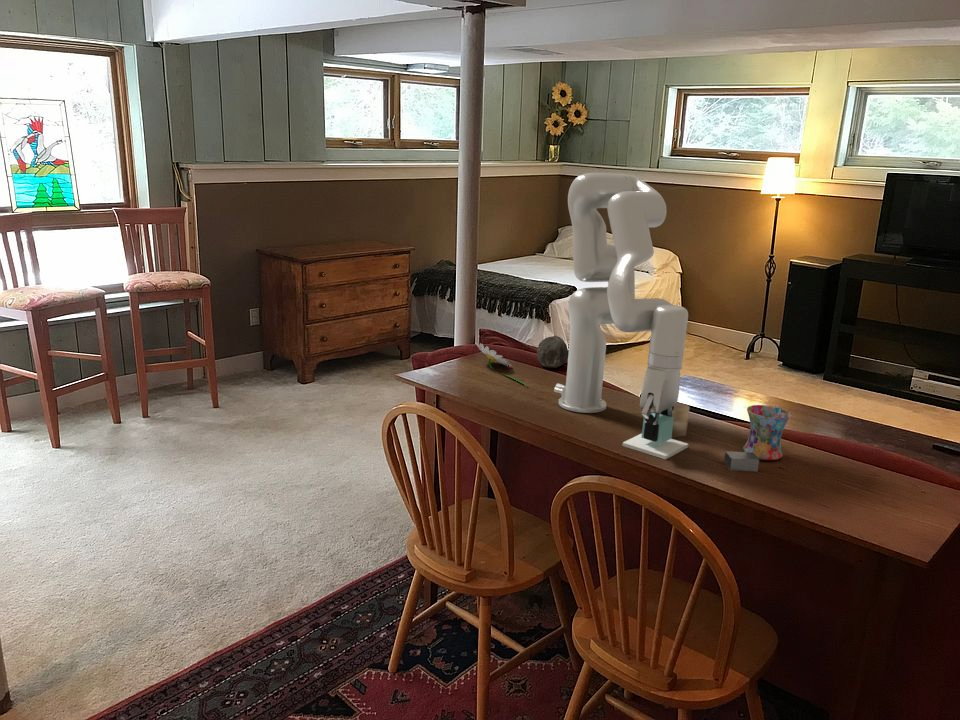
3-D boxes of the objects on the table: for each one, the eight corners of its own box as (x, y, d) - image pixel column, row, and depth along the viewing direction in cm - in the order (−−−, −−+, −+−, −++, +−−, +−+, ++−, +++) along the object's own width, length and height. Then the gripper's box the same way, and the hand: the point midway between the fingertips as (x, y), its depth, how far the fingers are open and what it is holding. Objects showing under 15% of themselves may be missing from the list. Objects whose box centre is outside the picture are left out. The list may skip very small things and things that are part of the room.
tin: (729, 471, 163) (731, 458, 163) (723, 464, 167) (725, 451, 166) (757, 472, 164) (759, 459, 163) (750, 465, 168) (752, 452, 167)
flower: (518, 369, 211) (472, 334, 236) (507, 385, 212) (462, 348, 236) (548, 389, 219) (501, 352, 243) (537, 404, 219) (491, 366, 243)
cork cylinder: (661, 432, 184) (664, 405, 182) (670, 428, 188) (674, 401, 186) (680, 438, 181) (683, 410, 179) (689, 433, 185) (693, 406, 183)
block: (641, 437, 174) (643, 417, 173) (651, 432, 178) (654, 412, 177) (661, 443, 171) (663, 422, 170) (671, 438, 175) (673, 417, 173)
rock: (542, 368, 232) (546, 336, 231) (530, 363, 243) (534, 332, 242) (572, 371, 235) (576, 339, 234) (559, 366, 246) (563, 335, 245)
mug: (768, 466, 167) (775, 420, 164) (732, 452, 174) (738, 408, 171) (798, 456, 174) (806, 412, 171) (762, 443, 181) (769, 400, 178)
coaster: (622, 445, 174) (622, 442, 174) (645, 434, 182) (646, 431, 182) (665, 459, 168) (666, 456, 167) (688, 447, 176) (688, 443, 175)
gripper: (667, 351, 178) (659, 424, 183) (631, 363, 166) (623, 441, 170) (697, 357, 174) (688, 432, 178) (662, 370, 161) (652, 450, 166)
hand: (656, 435), depth 174 cm, fingers closed on block, 4 cm apart
